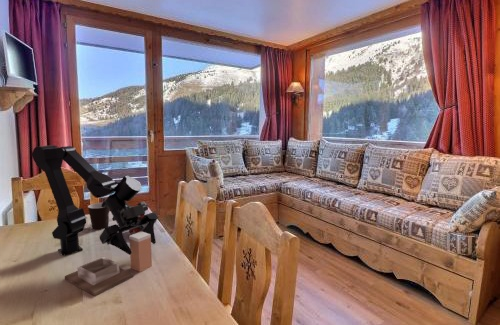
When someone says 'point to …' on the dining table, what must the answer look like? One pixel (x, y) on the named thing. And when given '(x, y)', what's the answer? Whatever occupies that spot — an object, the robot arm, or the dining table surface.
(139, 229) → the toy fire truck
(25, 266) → the dining table surface
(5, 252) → the dining table surface
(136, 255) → the tan box white top
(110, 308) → the dining table surface
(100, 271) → the square socket base
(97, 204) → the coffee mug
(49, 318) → the dining table surface
